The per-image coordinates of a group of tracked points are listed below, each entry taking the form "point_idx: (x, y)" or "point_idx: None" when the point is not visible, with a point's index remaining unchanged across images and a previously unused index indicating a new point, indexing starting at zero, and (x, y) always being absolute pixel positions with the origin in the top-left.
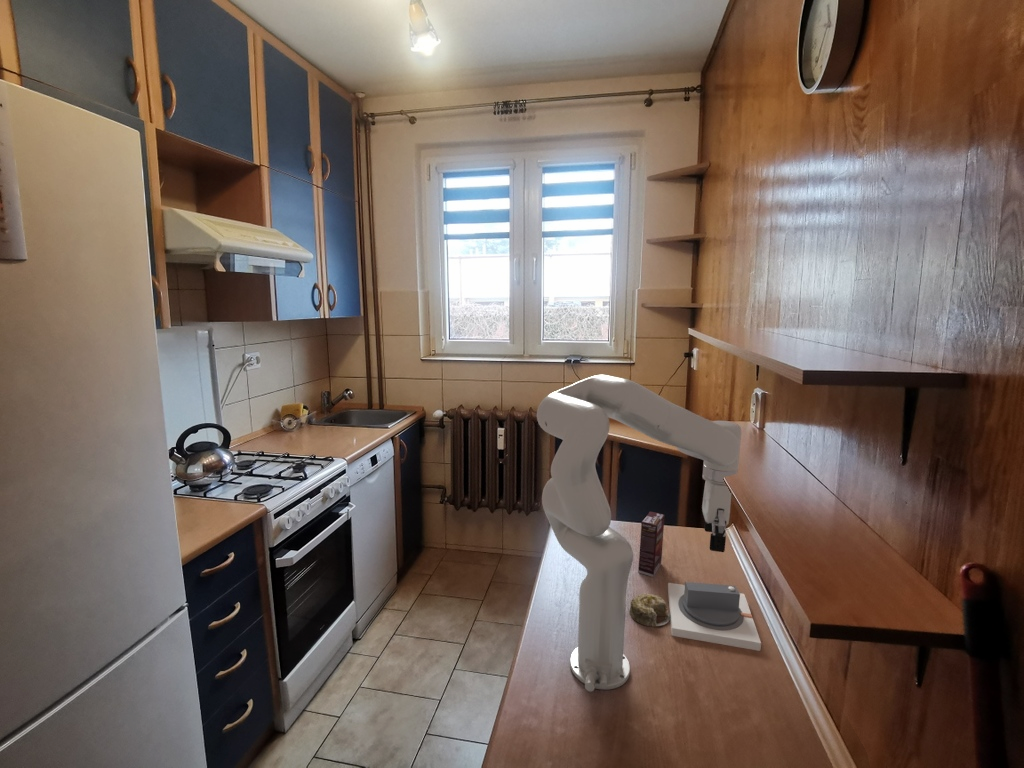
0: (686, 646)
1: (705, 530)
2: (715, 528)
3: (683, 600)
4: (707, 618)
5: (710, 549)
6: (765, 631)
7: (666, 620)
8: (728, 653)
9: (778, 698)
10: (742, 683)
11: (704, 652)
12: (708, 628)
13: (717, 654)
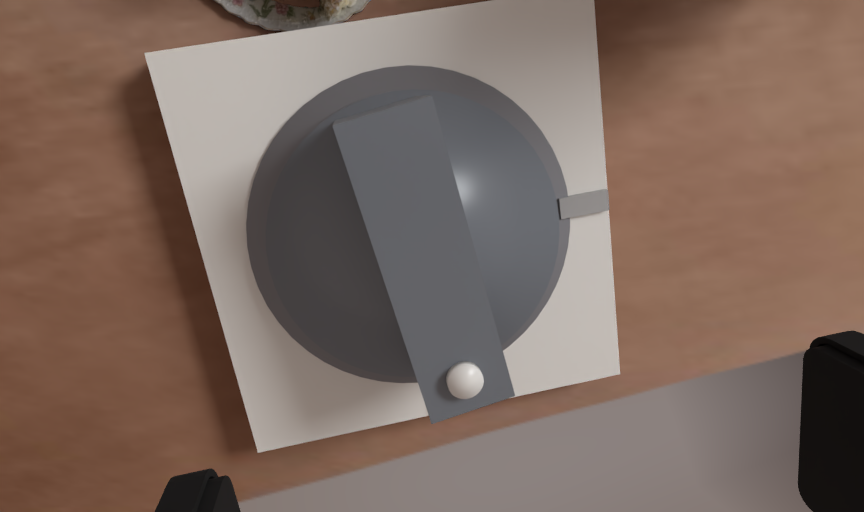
0: (115, 137)
1: (823, 343)
2: (852, 510)
3: (390, 94)
4: (275, 236)
5: (176, 485)
6: (410, 442)
7: (271, 15)
8: (175, 318)
9: (4, 493)
10: (5, 378)
11: (120, 222)
12: (246, 237)
13: (140, 276)
